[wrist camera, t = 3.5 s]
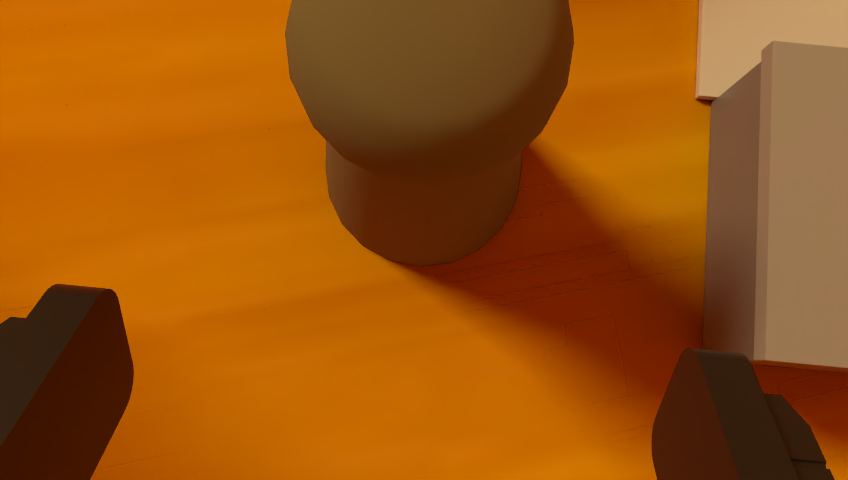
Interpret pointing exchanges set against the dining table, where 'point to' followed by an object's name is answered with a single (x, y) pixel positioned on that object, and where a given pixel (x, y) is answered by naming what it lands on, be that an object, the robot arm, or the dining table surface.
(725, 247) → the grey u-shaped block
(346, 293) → the dining table surface
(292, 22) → the cork
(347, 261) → the dining table surface
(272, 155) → the dining table surface
